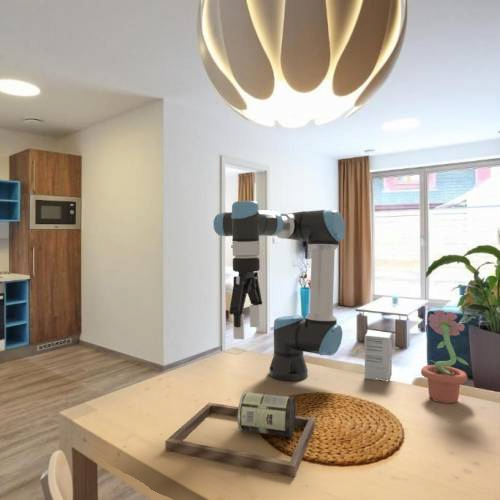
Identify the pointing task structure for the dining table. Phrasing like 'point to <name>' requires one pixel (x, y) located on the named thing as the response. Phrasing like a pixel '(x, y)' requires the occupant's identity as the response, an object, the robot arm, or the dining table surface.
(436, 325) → the decorative flower
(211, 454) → the walnut frame
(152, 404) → the dining table surface
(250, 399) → the coffee can
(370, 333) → the supplement box
